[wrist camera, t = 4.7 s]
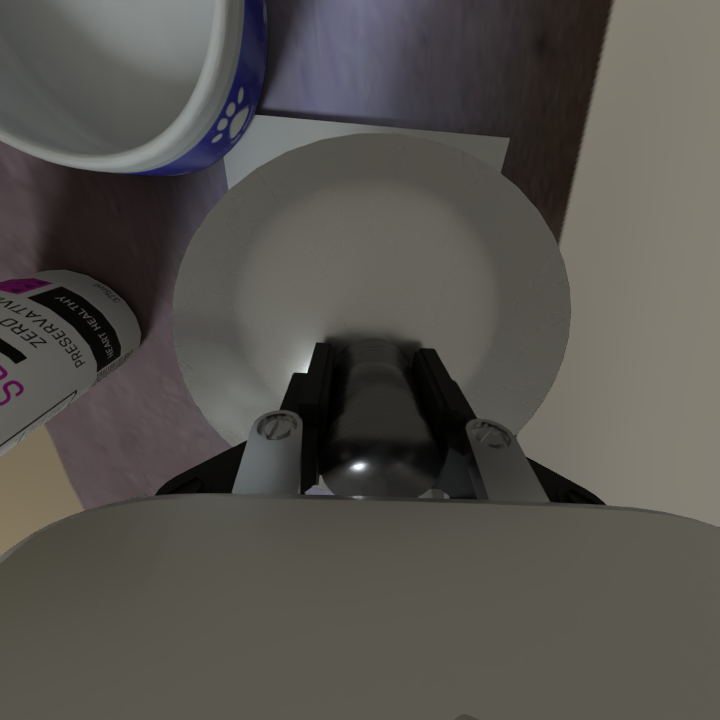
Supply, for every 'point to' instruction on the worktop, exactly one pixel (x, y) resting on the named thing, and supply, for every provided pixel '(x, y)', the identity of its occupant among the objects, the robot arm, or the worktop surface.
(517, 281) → the lid
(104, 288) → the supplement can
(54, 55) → the dog bowl
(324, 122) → the mat
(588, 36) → the worktop surface
